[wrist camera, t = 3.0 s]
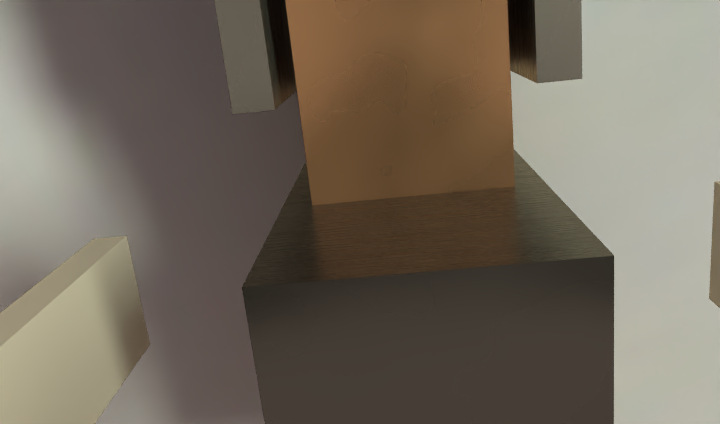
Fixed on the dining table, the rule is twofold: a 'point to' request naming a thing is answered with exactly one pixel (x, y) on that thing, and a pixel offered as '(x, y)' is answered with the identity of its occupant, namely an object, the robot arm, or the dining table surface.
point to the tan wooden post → (423, 237)
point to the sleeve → (276, 68)
